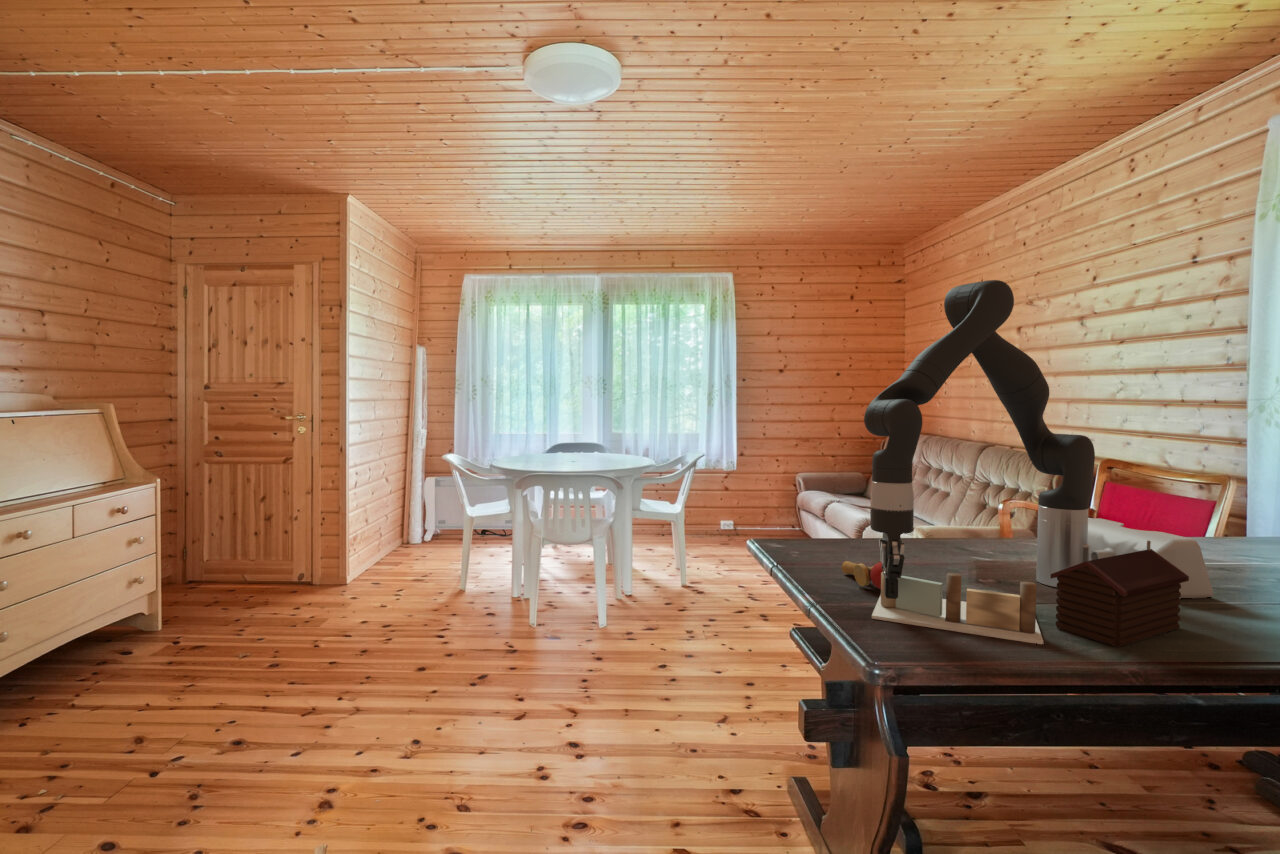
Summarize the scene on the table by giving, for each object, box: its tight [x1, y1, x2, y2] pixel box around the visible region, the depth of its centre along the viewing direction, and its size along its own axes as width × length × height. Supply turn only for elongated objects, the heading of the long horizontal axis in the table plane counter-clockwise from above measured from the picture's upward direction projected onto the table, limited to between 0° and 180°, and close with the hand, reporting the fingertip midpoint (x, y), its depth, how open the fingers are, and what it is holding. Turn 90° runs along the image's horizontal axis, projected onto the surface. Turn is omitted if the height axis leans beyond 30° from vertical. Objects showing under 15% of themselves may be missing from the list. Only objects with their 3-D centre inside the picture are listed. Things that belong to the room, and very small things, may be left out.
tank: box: [1087, 517, 1214, 600], centre depth 139 cm, size 25×16×12 cm, turn 7°
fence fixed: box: [945, 572, 1038, 634], centre depth 111 cm, size 14×2×9 cm, turn 63°
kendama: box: [841, 560, 883, 591], centre depth 137 cm, size 8×6×18 cm
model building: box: [1050, 541, 1189, 648], centre depth 111 cm, size 21×12×15 cm, turn 116°
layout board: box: [871, 594, 1044, 645], centre depth 118 cm, size 27×17×1 cm, turn 63°
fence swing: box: [880, 572, 944, 617], centre depth 119 cm, size 11×3×6 cm, turn 47°
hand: (891, 597), depth 117 cm, fingers closed
